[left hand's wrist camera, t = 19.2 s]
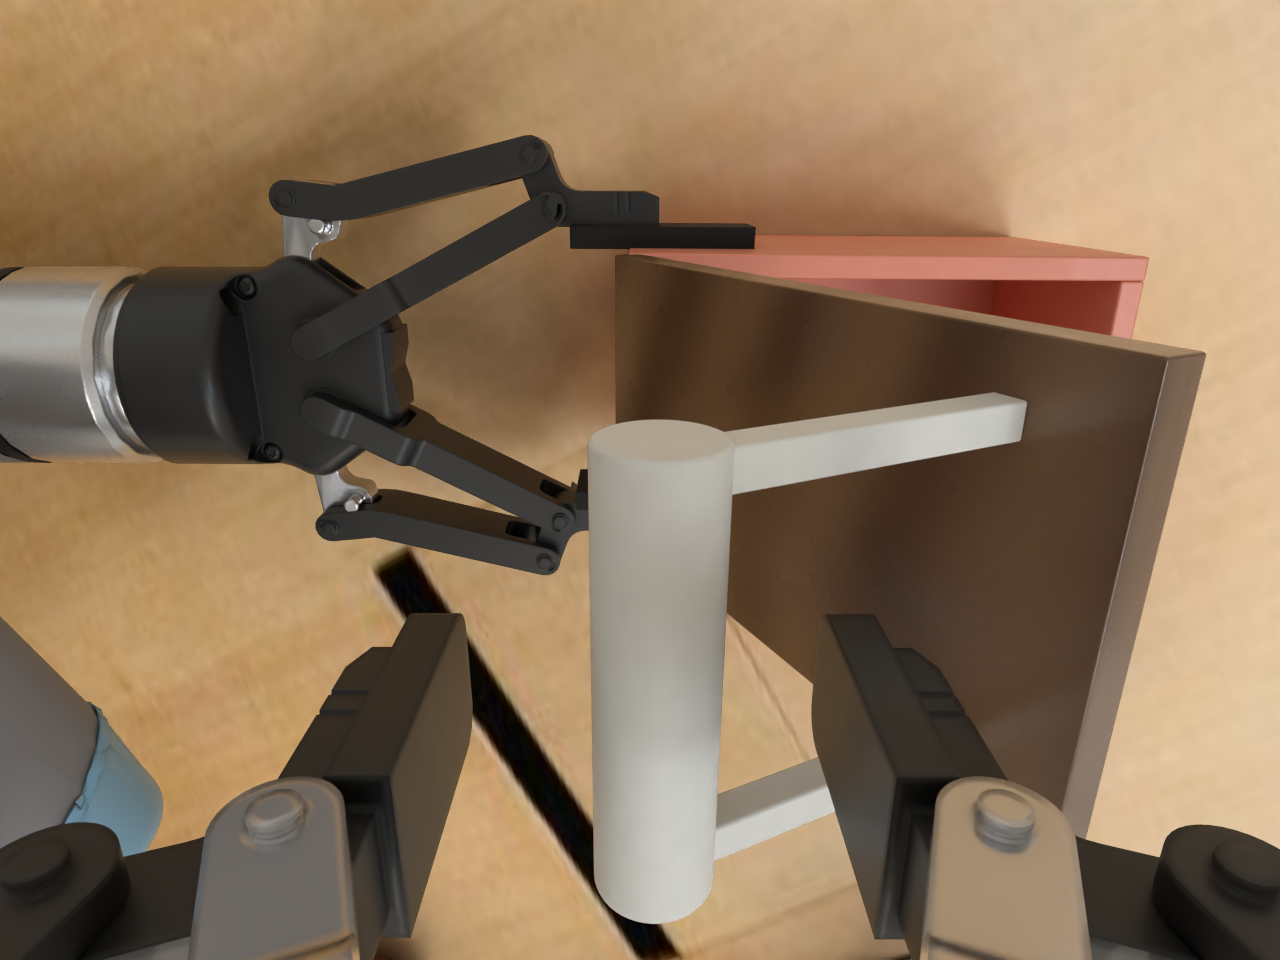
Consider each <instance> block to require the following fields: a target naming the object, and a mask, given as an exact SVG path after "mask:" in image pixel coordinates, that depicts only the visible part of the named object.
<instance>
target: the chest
mask: <svg viewBox="0 0 1280 960" xmlns="http://www.w3.org/2000/svg"><path fill="white" fill-rule="evenodd" d="M634 254H641V255H647V256H653V257H659V258H664V259H670V260H676V261H682V262H688V263H693V264H699V265H705V266H711V267H717V268H722V269H728V270H734V271H740V272H745V273H751V274H757V275H763V276H769V277H774V278H780V279H786V280H792V281H797V282H803V283H809V284H815V285H821V286H826V287H832V288H838V289H844V290H849V291H855V292H861V293H867V294H873V295H878V296H884V297H890V298H896V299H902V300H907V301H913V302H919V303H925V304H930V305H936V306H942V307H948V308H954V309H959V310H965V311H971V312H977V313H982V314H988V315H994V316H1000V317H1006V318H1011V319H1017V320H1023V321H1029V322H1034V323H1040V324H1046V325H1052V326H1058V327H1063V328H1069V329H1075V330H1081V331H1087V332H1092V333H1098V334H1104V335H1110V336H1115V337H1121V338H1127V339H1132V335H1133V330H1134V325H1135V321H1136V316H1137V311H1138V307H1139V302H1140V298H1141V293H1142V288H1143V282H1142V281H1144V279H1145V275H1146V270H1147V266H1148V261H1149V258H1148V257H1144V256H1137V255H1130V254H1123V253H1117V252H1110V251H1103V250H1097V249H1090V248H1083V247H1076V246H1070V245H1063V244H1056V243H1050V242H1043V241H1036V240H1029V239H1023V238H1016V237H970V236H839V235H755V249H673V248H630V249H629V253H628V255H634Z"/></svg>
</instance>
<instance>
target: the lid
mask: <svg viewBox="0 0 1280 960" xmlns="http://www.w3.org/2000/svg"><path fill="white" fill-rule="evenodd" d="M615 335H616V424H615V425H611V426H608V427H605V428H602V429H600V430H598V431H596V432H595V433H594V434H592V435H591V437H590V439H589V441H588V508H589V572H590V636H591V700H592V764H593V828H594V877H595V883H596V886H597V889H598V891H599V893H600V895H601V896H602V898H603V899H604V901H605V902H606V903H607V904H608V905H609V906H610V907H611V908H612V909H613V910H614V911H616V912H617V913H619V914H620V915H622V916H624V917H626V918H628V919H631V920H634V921H638V922H642V923H650V924H660V923H668V922H672V921H676V920H679V919H682V918H684V917H686V916H688V915H689V914H691V913H692V912H694V911H695V910H696V909H697V908H698V907H700V906H701V904H702V903H703V902H704V901H705V899H706V898H707V896H708V894H709V893H710V890H711V887H712V883H713V873H714V861H716V860H718V859H721V858H723V857H726V856H728V855H731V854H733V853H735V852H738V851H740V850H743V849H745V848H748V847H750V846H752V845H755V844H757V843H760V842H762V841H765V840H767V839H770V838H772V837H774V836H777V835H779V834H782V833H784V832H787V831H789V830H792V829H794V828H796V827H799V826H801V825H804V824H806V823H809V822H811V821H813V820H816V819H818V818H821V817H823V816H826V815H828V814H831V813H833V812H835V809H834V806H833V802H832V799H831V796H830V793H829V790H828V786H827V783H826V780H825V777H824V773H823V770H822V767H821V764H820V761H819V757H818V758H815V759H812V760H809V761H807V762H804V763H801V764H799V765H796V766H793V767H791V768H788V769H785V770H782V771H780V772H777V773H774V774H772V775H769V776H766V777H763V778H761V779H758V780H755V781H753V782H750V783H747V784H745V785H742V786H739V787H736V788H734V789H731V790H728V791H726V792H723V793H720V794H717V792H718V772H719V752H720V732H721V712H722V692H723V672H724V651H725V631H726V613H728V614H729V615H730V616H731V617H732V618H734V619H735V620H736V621H737V622H738V623H740V624H741V625H742V626H743V627H744V628H746V629H747V630H748V631H749V632H751V633H752V634H753V635H754V636H755V637H757V638H758V639H759V640H760V641H761V642H763V643H764V644H765V645H766V646H767V647H769V648H770V649H771V650H772V651H774V652H775V653H776V654H777V655H778V656H780V657H781V658H782V659H783V660H784V661H786V662H787V663H788V664H789V665H790V666H792V667H793V668H794V669H795V670H797V671H798V672H799V673H800V674H801V675H803V676H804V677H805V678H806V679H807V680H809V681H810V682H811V683H812V684H813V683H814V671H815V660H816V648H817V636H818V627H819V621H820V618H821V616H822V615H823V614H873V615H875V616H876V618H877V620H878V621H879V623H880V625H881V627H882V629H883V631H884V632H885V634H886V636H887V638H888V640H889V642H890V643H891V645H892V647H893V648H913V649H914V650H916V651H917V652H918V653H920V654H921V655H922V656H924V657H925V658H926V659H928V660H929V661H930V662H932V663H933V664H934V665H936V666H937V667H938V668H939V669H940V670H941V672H942V674H943V675H944V677H945V679H946V680H947V682H948V683H949V685H950V687H951V688H952V690H953V694H954V696H957V698H958V700H959V701H960V703H961V704H962V706H963V708H964V709H965V714H966V716H969V717H970V719H971V721H972V722H973V724H974V726H975V727H976V729H977V730H978V732H979V734H980V735H981V737H982V739H983V740H984V742H985V743H986V745H987V747H988V748H989V750H990V752H991V753H992V755H993V756H994V758H995V760H996V761H997V763H998V764H999V766H1000V768H1001V769H1002V771H1003V773H1004V774H1005V776H1006V777H1007V779H1008V781H1010V782H1014V783H1017V784H1019V785H1022V786H1024V787H1026V788H1028V789H1030V790H1032V791H1034V792H1036V793H1038V794H1040V795H1041V796H1043V797H1044V798H1046V799H1047V800H1048V801H1050V802H1051V803H1052V804H1054V805H1055V806H1056V807H1057V808H1058V809H1059V810H1060V811H1061V812H1062V813H1063V814H1064V816H1065V817H1066V818H1067V820H1068V821H1069V822H1070V824H1071V826H1072V828H1073V830H1074V834H1075V836H1078V837H1080V838H1083V839H1086V836H1087V832H1088V828H1089V824H1090V820H1091V816H1092V811H1093V807H1094V803H1095V799H1096V795H1097V791H1098V787H1099V783H1100V779H1101V775H1102V771H1103V767H1104V763H1105V759H1106V755H1107V751H1108V747H1109V743H1110V739H1111V735H1112V731H1113V727H1114V723H1115V719H1116V715H1117V711H1118V707H1119V703H1120V699H1121V695H1122V691H1123V687H1124V683H1125V679H1126V675H1127V671H1128V667H1129V663H1130V659H1131V655H1132V651H1133V647H1134V643H1135V639H1136V635H1137V631H1138V627H1139V623H1140V619H1141V615H1142V611H1143V607H1144V603H1145V599H1146V595H1147V591H1148V587H1149V583H1150V579H1151V575H1152V571H1153V567H1154V563H1155V559H1156V555H1157V551H1158V546H1159V542H1160V538H1161V534H1162V530H1163V526H1164V522H1165V518H1166V514H1167V510H1168V506H1169V502H1170V498H1171V494H1172V490H1173V486H1174V482H1175V478H1176V474H1177V470H1178V466H1179V462H1180V458H1181V454H1182V450H1183V446H1184V442H1185V438H1186V434H1187V430H1188V426H1189V422H1190V418H1191V414H1192V410H1193V406H1194V402H1195V398H1196V394H1197V390H1198V386H1199V382H1200V378H1201V374H1202V370H1203V366H1204V362H1205V358H1206V353H1204V352H1202V351H1196V350H1191V349H1185V348H1179V347H1173V346H1167V345H1162V344H1156V343H1150V342H1144V341H1139V340H1133V339H1127V338H1121V337H1115V336H1110V335H1104V334H1098V333H1092V332H1087V331H1081V330H1075V329H1069V328H1063V327H1058V326H1052V325H1046V324H1040V323H1034V322H1029V321H1023V320H1017V319H1011V318H1006V317H1000V316H994V315H988V314H982V313H977V312H971V311H965V310H959V309H954V308H948V307H942V306H936V305H930V304H925V303H919V302H913V301H907V300H902V299H896V298H890V297H884V296H878V295H873V294H867V293H861V292H855V291H849V290H844V289H838V288H832V287H826V286H821V285H815V284H809V283H803V282H797V281H792V280H786V279H780V278H774V277H769V276H763V275H757V274H751V273H745V272H740V271H734V270H728V269H722V268H717V267H711V266H705V265H699V264H693V263H688V262H682V261H676V260H670V259H664V258H659V257H653V256H647V255H641V254H634V255H616V256H615Z"/></svg>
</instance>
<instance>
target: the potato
mask: <svg viewBox="0 0 1280 960" xmlns="http://www.w3.org/2000/svg"><path fill="white" fill-rule="evenodd" d="M374 960H391V959H388V958H385V957H382V956H379V955H375V957H374Z"/></svg>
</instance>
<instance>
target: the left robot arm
mask: <svg viewBox="0 0 1280 960" xmlns="http://www.w3.org/2000/svg"><path fill="white" fill-rule="evenodd" d="M471 729H472V694H471V682H470V670H469V658H468V646H467V634H466V625H465V620H464V617H463V615H462V614H461V613H412V614H410V615H409V616H408V618H407V620H406V621H405V623H404V625H403V627H402V629H401V631H400V633H399V635H398V636H397V638H396V640H395V642H394V644H393V646H392V647H372V648H370V649H369V650H368V651H366V652H365V653H364V654H362V655H361V656H360V657H358V658H357V659H356V660H354V661H353V662H352V663H350V664H349V665H348V666H347V667H345V669H344V671H343V672H342V674H341V676H340V677H339V679H338V681H337V682H336V684H335V686H334V687H333V689H332V693H331V695H328V697H327V699H326V700H325V702H324V704H323V705H322V707H321V709H320V714H319V715H316V717H315V718H314V720H313V722H312V723H311V725H310V727H309V728H308V730H307V732H306V733H305V735H304V737H303V738H302V740H301V742H300V743H299V745H298V746H297V748H296V750H295V751H294V753H293V755H292V756H291V758H290V760H289V761H288V763H287V765H286V766H285V768H284V769H283V771H282V773H281V774H280V776H279V778H278V779H277V780H273V781H270V782H266V783H263V784H261V785H258V786H256V787H254V788H252V789H250V790H248V791H246V792H244V793H242V794H240V795H239V796H237V797H236V798H234V799H233V800H232V801H230V802H229V803H228V804H226V805H225V806H224V807H223V808H222V809H221V810H220V811H219V812H218V813H217V814H216V816H215V817H214V818H213V820H212V821H211V822H210V824H209V826H208V828H207V830H206V834H205V837H202V838H199V839H196V840H192V841H188V842H185V843H180V844H176V845H172V846H167V847H163V848H159V849H155V850H150V851H146V852H142V853H137V854H133V855H129V856H123V853H122V849H121V846H120V842H119V839H118V837H117V835H116V834H115V833H114V831H113V830H112V829H110V828H108V827H106V826H104V825H101V824H97V823H90V822H74V823H67V824H60V825H56V826H52V827H48V828H45V829H42V830H39V831H36V832H33V833H31V834H29V835H26V836H24V837H21V838H19V839H17V840H15V841H13V842H11V843H10V844H8V845H6V846H4V847H2V848H1V849H0V960H374V957H375V954H376V951H377V948H378V945H379V942H380V939H381V937H411V934H412V931H413V928H414V924H415V921H416V918H417V915H418V911H419V908H420V905H421V901H422V898H423V895H424V892H425V888H426V885H427V882H428V878H429V875H430V872H431V869H432V865H433V862H434V859H435V855H436V852H437V849H438V846H439V842H440V839H441V836H442V832H443V829H444V826H445V823H446V819H447V816H448V813H449V809H450V806H451V803H452V800H453V796H454V793H455V790H456V786H457V783H458V780H459V777H460V773H461V770H462V767H463V763H464V760H465V757H466V754H467V750H468V747H469V742H470V737H471ZM812 730H813V738H814V743H815V747H816V751H817V754H818V757H819V761H820V764H821V767H822V770H823V773H824V777H825V780H826V783H827V786H828V790H829V793H830V796H831V799H832V802H833V806H834V809H835V812H836V815H837V819H838V822H839V825H840V828H841V831H842V835H843V838H844V841H845V844H846V847H847V851H848V854H849V857H850V860H851V864H852V867H853V870H854V873H855V876H856V880H857V883H858V886H859V889H860V892H861V896H862V899H863V902H864V905H865V909H866V912H867V915H868V918H869V921H870V925H871V928H872V931H873V934H874V938H875V939H905V941H906V944H907V947H908V950H909V953H910V956H911V958H910V959H905V960H1280V849H1278V848H1276V847H1274V846H1272V845H1270V844H1269V843H1267V842H1265V841H1263V840H1260V839H1258V838H1255V837H1253V836H1251V835H1248V834H1245V833H1242V832H1239V831H1236V830H1232V829H1228V828H1224V827H1219V826H1212V825H1189V826H1184V827H1181V828H1178V829H1176V830H1174V831H1172V832H1171V833H1170V834H1169V835H1168V836H1167V837H1166V840H1165V842H1164V845H1163V848H1162V852H1161V855H1160V858H1159V857H1155V856H1151V855H1147V854H1142V853H1138V852H1134V851H1129V850H1125V849H1121V848H1116V847H1112V846H1108V845H1104V844H1100V843H1096V842H1092V841H1089V840H1086V839H1083V838H1080V837H1078V836H1075V834H1074V830H1073V828H1072V826H1071V824H1070V822H1069V821H1068V820H1067V818H1066V817H1065V816H1064V814H1063V813H1062V812H1061V811H1060V810H1059V809H1058V808H1057V807H1056V806H1055V805H1054V804H1052V803H1051V802H1050V801H1048V800H1047V799H1046V798H1044V797H1043V796H1041V795H1040V794H1038V793H1036V792H1034V791H1032V790H1030V789H1028V788H1026V787H1024V786H1022V785H1019V784H1017V783H1014V782H1010V781H1008V779H1007V777H1006V776H1005V774H1004V773H1003V771H1002V769H1001V768H1000V766H999V764H998V763H997V761H996V760H995V758H994V756H993V755H992V753H991V752H990V750H989V748H988V747H987V745H986V743H985V742H984V740H983V739H982V737H981V735H980V734H979V732H978V730H977V729H976V727H975V726H974V724H973V722H972V721H971V719H970V717H969V716H966V714H965V709H964V708H963V706H962V704H961V703H960V701H959V700H958V698H957V696H954V694H953V690H952V688H951V687H950V685H949V683H948V682H947V680H946V679H945V677H944V675H943V674H942V672H941V670H940V669H939V668H938V667H937V666H936V665H934V664H933V663H932V662H930V661H929V660H928V659H926V658H925V657H924V656H922V655H921V654H920V653H918V652H917V651H916V650H914V649H913V648H893V647H892V645H891V643H890V642H889V640H888V638H887V636H886V634H885V632H884V631H883V629H882V627H881V625H880V623H879V621H878V620H877V618H876V616H875V615H873V614H823V615H822V616H821V618H820V621H819V627H818V636H817V648H816V660H815V671H814V683H813V695H812Z"/></svg>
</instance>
